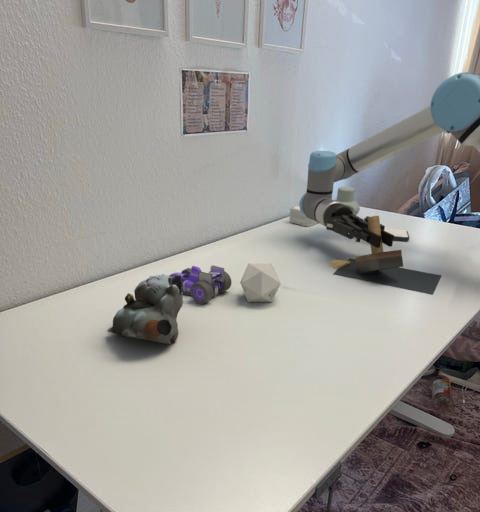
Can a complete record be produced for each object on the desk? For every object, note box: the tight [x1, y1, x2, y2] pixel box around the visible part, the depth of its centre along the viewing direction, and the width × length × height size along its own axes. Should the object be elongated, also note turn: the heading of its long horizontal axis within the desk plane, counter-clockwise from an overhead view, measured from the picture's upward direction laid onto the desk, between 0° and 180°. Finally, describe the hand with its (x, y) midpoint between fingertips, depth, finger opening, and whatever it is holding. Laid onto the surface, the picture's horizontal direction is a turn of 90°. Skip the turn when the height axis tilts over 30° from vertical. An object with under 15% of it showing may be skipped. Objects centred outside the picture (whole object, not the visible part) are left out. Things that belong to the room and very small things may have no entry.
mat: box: [332, 257, 442, 296], centre depth 120 cm, size 24×14×1 cm, turn 61°
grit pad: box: [328, 259, 350, 270], centre depth 126 cm, size 5×5×1 cm
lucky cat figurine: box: [106, 274, 184, 345], centre depth 90 cm, size 15×12×14 cm
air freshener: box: [333, 186, 361, 216], centre depth 171 cm, size 11×8×10 cm
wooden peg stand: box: [354, 215, 404, 273], centre depth 117 cm, size 9×7×13 cm
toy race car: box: [168, 265, 233, 305], centre depth 109 cm, size 10×15×6 cm, turn 57°
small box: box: [288, 205, 319, 227], centre depth 164 cm, size 8×8×5 cm
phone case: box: [384, 227, 410, 242], centre depth 153 cm, size 9×2×16 cm
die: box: [239, 263, 282, 303], centre depth 106 cm, size 8×9×10 cm
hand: (385, 241), depth 113 cm, fingers closed on wooden peg stand, 3 cm apart
